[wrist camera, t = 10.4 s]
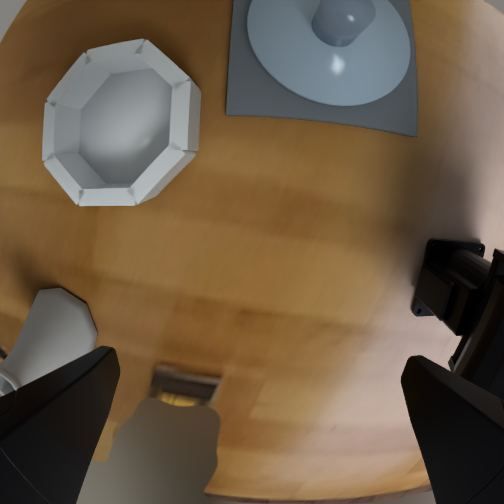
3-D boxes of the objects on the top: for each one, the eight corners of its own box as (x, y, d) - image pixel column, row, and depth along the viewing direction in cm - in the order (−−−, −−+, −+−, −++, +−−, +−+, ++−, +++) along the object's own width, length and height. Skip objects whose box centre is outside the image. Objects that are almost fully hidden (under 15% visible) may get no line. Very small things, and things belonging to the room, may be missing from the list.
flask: (33, 277, 22) (-40, 329, 12) (96, 296, 22) (28, 367, 12) (43, 342, 24) (-11, 401, 14) (102, 363, 24) (55, 439, 15)
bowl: (206, 55, 16) (195, 33, 13) (199, 196, 19) (186, 206, 16) (80, 72, 16) (50, 60, 13) (75, 197, 19) (44, 207, 16)
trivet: (403, -9, 14) (406, -12, 13) (412, 137, 18) (416, 136, 17) (237, -36, 14) (237, -40, 13) (226, 115, 18) (226, 114, 17)
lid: (398, -6, 14) (424, -30, 9) (404, 121, 17) (439, 115, 13) (252, -33, 14) (252, -68, 9) (242, 97, 17) (238, 80, 13)
